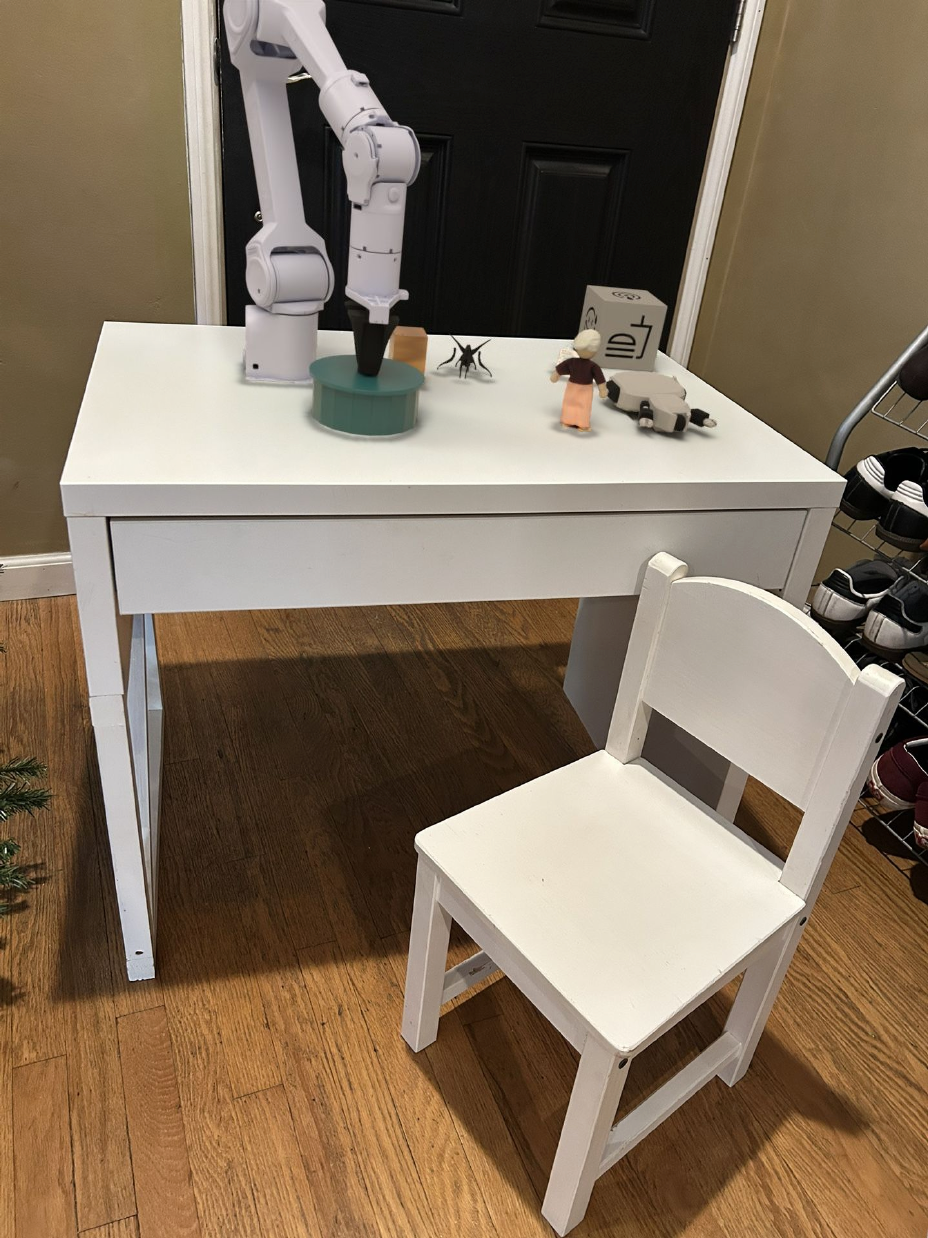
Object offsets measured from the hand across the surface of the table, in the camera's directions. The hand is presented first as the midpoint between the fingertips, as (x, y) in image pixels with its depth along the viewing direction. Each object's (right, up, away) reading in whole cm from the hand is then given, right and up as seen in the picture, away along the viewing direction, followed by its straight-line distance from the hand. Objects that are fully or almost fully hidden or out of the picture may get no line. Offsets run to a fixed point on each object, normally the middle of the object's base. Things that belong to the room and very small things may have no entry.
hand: (367, 369), depth 111 cm
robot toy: (+37, -3, +17) cm, 40 cm away
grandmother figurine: (+25, -5, +10) cm, 27 cm away
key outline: (+27, +8, +32) cm, 43 cm away
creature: (+11, +5, +24) cm, 27 cm away
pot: (-1, -5, +3) cm, 6 cm away
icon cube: (+35, +12, +41) cm, 55 cm away
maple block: (+3, +3, +18) cm, 18 cm away
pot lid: (0, -1, 0) cm, 1 cm away
